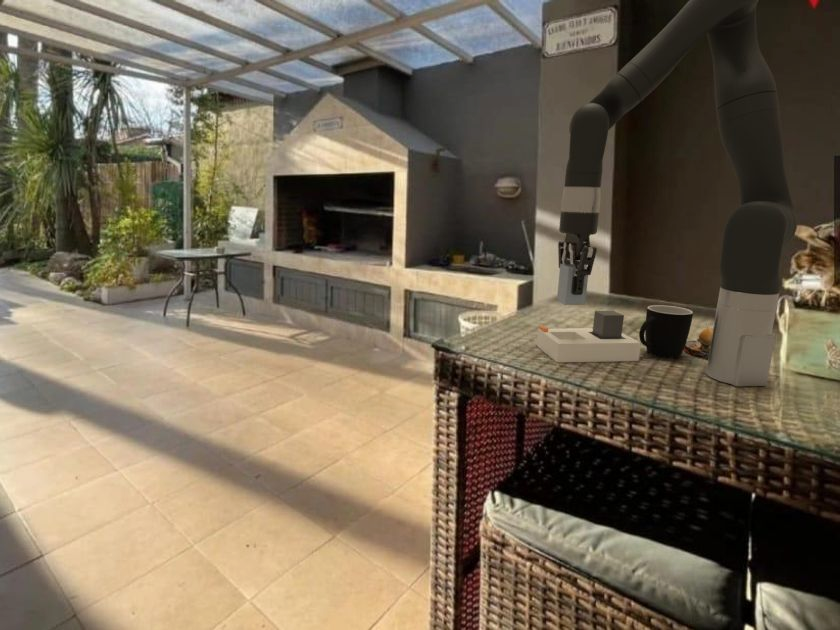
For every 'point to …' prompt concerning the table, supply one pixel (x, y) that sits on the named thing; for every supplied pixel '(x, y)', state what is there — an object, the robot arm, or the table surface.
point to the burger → (700, 345)
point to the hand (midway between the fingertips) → (571, 291)
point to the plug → (569, 287)
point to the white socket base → (590, 341)
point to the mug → (666, 330)
